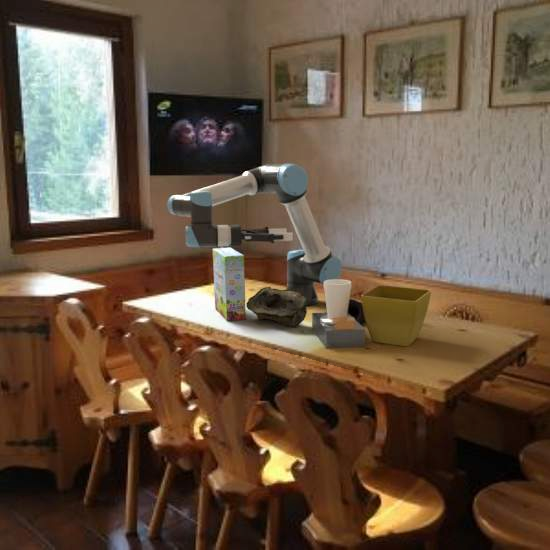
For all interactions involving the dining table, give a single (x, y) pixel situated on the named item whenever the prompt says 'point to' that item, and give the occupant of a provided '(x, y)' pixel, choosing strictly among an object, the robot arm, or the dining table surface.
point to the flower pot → (395, 313)
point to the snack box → (229, 283)
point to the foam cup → (337, 297)
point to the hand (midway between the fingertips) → (289, 234)
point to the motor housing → (338, 331)
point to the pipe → (356, 310)
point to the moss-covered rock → (279, 306)
